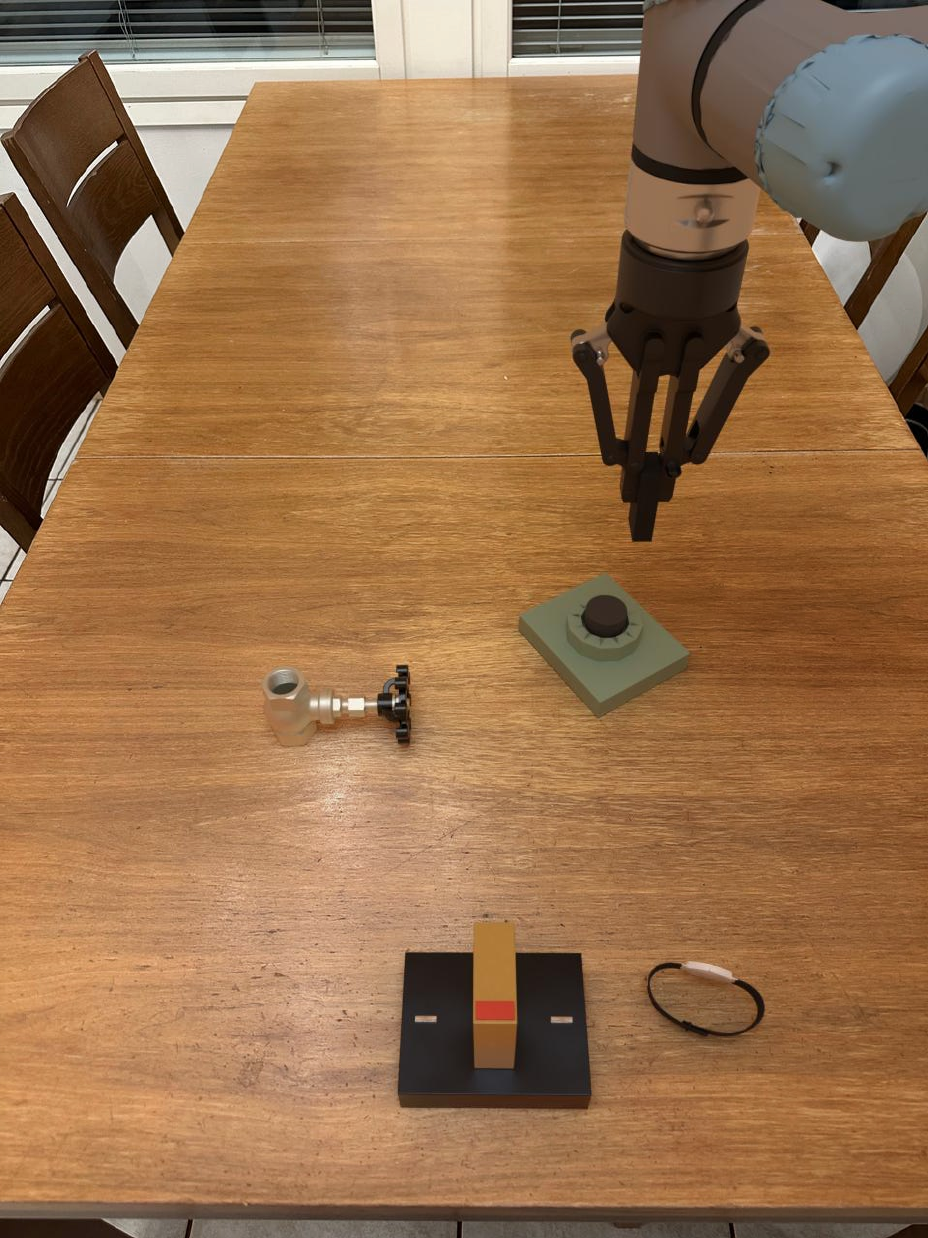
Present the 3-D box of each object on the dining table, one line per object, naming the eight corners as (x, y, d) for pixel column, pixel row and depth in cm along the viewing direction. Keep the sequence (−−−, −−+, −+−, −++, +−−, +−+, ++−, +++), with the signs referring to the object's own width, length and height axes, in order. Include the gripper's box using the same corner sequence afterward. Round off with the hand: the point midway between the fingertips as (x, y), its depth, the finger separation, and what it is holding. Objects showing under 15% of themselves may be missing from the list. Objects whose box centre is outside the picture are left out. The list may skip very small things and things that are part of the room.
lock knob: (474, 973, 63) (473, 920, 57) (511, 973, 63) (514, 920, 57) (474, 1068, 59) (473, 1022, 53) (514, 1069, 59) (517, 1022, 53)
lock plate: (578, 970, 66) (581, 951, 64) (588, 1109, 60) (592, 1094, 58) (407, 969, 67) (404, 950, 64) (400, 1108, 61) (397, 1093, 58)
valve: (266, 763, 78) (410, 760, 78) (251, 715, 73) (405, 712, 73) (275, 699, 83) (412, 696, 83) (262, 651, 78) (407, 648, 78)
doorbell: (686, 668, 84) (694, 639, 81) (597, 718, 81) (602, 689, 78) (603, 587, 91) (607, 558, 88) (518, 630, 88) (519, 600, 85)
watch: (760, 988, 65) (772, 967, 63) (755, 1057, 62) (767, 1038, 60) (649, 958, 67) (656, 936, 64) (638, 1024, 64) (645, 1004, 61)
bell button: (633, 627, 83) (635, 613, 82) (601, 644, 82) (602, 630, 80) (607, 602, 85) (610, 588, 84) (575, 618, 84) (577, 605, 82)
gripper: (580, 264, 54) (558, 564, 71) (812, 260, 53) (733, 562, 71) (571, 206, 59) (552, 499, 76) (782, 202, 58) (715, 497, 76)
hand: (639, 529), depth 73 cm, fingers closed
